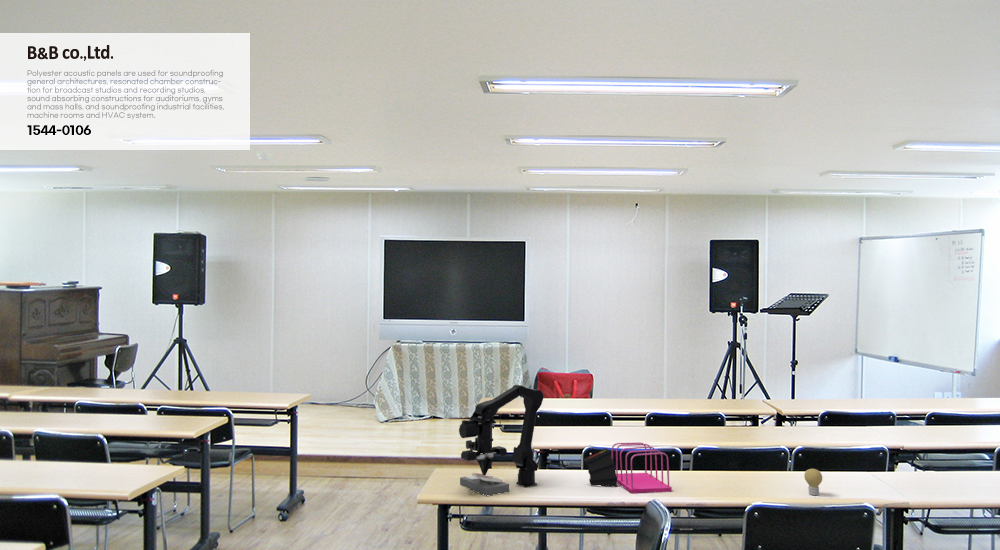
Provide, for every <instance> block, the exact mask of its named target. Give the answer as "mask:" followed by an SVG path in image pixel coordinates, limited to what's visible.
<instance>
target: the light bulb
mask: <svg viewBox="0 0 1000 550" xmlns="http://www.w3.org/2000/svg"><path fill="white" fill-rule="evenodd" d="M804 480H805V482H806V483H807V484H808V487H807V488H808V494H809V495H811V496H818V495H820V488H819V485H821V483H822V482H823V475H822V472H821V471H820V470H818V469H816V468H809V469H807V470H805V472H804Z"/></svg>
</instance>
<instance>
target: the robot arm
mask: <svg viewBox="0 0 1000 550" xmlns="http://www.w3.org/2000/svg"><path fill="white" fill-rule="evenodd" d="M518 397H521V398H523V400H522V401H523V405H524V410H525V411H524V416H523V422H522V428H521V432H520V433H521V435H520V441H519V444H518V445H517V446H514V447H513V453H512V455H511V457H512V461H513V463H514V464H515V467H516V469H518V473H517V482H516V485H519V486H522V487H525V488H526V487H531V486H537V485H538V483H537V482H536V472H537V471H538V469H539V465H538V463H537V462H536V461H535V460H534V451H533V447H532V443H533V437H534V431H535V424H536V418H537V413H538V410H539V409H540V407H541V406H542V405H543V401H544V393H543V392H542V391H541V390H539V389H533V388H528V387H526V386H523V385H519V384H514V385H512V387H510V388H508V389H507V390H506V391H504V392H502V393H501V394H499V395H498V396H496V397H494V398H492V399H490V400H485V401H483V402H480V403H478V404H476V405H475V409H474V411H473V412H472V414H471V416H470V418H469V419H467V420H466V419H463V420H461V424H460V425H459V427H458V433H459V436H460V438H461V439H465V438H466V439H468V438H474V441H472V440H471V439H470V440H466V441H465V449H466V450H463V451H462V452H461V453H460V459H463V460H465V461H468V462H470V461H476V462H477V463H478V465H479V468H480V471H481V474H483V475H486V474H488V471H489V470H490V466H492V463H493V461H494V460H495V459H496V457H494V455H496V454H498V455H499V456H501V457H503V456H507V455H508V450H507V448H506V447H503V446H500V445H499V446H498V445H497V446H492V442H494V438H493V437H492V425H495V424H497V421H495V419H494V418H493V417H494V416H495V415H497V413H498V411H499V410H500V409H501V408H503V407H504V406H506V405H507V404H509V403H511V402H513V400H515V399H517V398H518Z"/></svg>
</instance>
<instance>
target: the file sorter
mask: <svg viewBox="0 0 1000 550" xmlns="http://www.w3.org/2000/svg"><path fill="white" fill-rule="evenodd" d="M617 445H618V446H617ZM615 446H617V447H616V449H615V471H616V476H617V482H618V483H619V484H620V485H619V484H618V483H617V484H618V485H619V486H621V485H622V486H623V487H622V486H621V487H622V488H624V489H625V490H626V491H628V492H629V493H630V494H641V493H642V494H644V493H665V492H666V493H667V492H669V493H671V492H672V491H673V490H672V486H670V470H669V469H670V466H669V457H668V454H666V453H665V452H661V450H658V449H655V447H653V446H651V445H650V444H648V443H643V442H615V443H614V444H613V445H612V447H611V457H612V460H613V461H614V447H615ZM624 446H625V448H622V449H621V451H620V452H619V453H618V450H619V449H620V448H621V447H624ZM628 446H634V447H628ZM637 449H639V450H637ZM640 449H642V450H640ZM643 449H644V450H643ZM626 450H627V451H628V450H629V451H628V452H627V453H626V454H625V473H624V472H623V462H622V453H623V452H624V451H626ZM644 452H645V453H644ZM647 452H648V453H647ZM631 453H636V454H633V455H632V456H631V458H630V472H628V456H629V454H631ZM618 454H619V466H620V473H619V470H618V469H619V468H618ZM652 455H654V461H655V463H654V464H655V477H654V476H653V461H652V460H653V457H652ZM657 455H660V461H661V463H660V464H661V465H660V467H661V480H659V479H658V462H657V461H658V457H657ZM663 455H664V456H665V457H666V472H667V473H666V475H667V479H666V480H667V484H666V483H665V482H664V461H663V460H664V459H663V458H664V457H663ZM637 456H638V457H639V456H645V457H644V462H645V463H644V464H645V465H644V466H645V467H644V468H645V469H644V472H633V459H634V458H635V457H637ZM648 456H650V457H649V458H650V460H649V461H650V468H649V469H650V472H648V471H647V470H648V468H647V465H648V463H647V461H648V460H647V458H648Z"/></svg>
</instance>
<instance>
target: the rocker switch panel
mask: <svg viewBox="0 0 1000 550" xmlns="http://www.w3.org/2000/svg"><path fill="white" fill-rule="evenodd" d="M459 484H460V486H462V487H464V486H465V487H464V488H466V487H467V488H466V489H468V488H469V489H468V490H471V489H472V490H471V491H473V490H474V491H473V492H475V491H477V492H476V493H478V492H479V493H478V494H480V493H481V494H480V495H482V494H484V495H483V496H485V495H486V496H485V497H488V496H487V495H490V496H494V495H493V494H495V495H499V494H498V493H501V494H504V492H506V493H509V492H510V483H508V482H504V481H502V482H493V481H484V480H482V479H480V478H477V477H474V476H472V475H467V476H461V477H459Z"/></svg>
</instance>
